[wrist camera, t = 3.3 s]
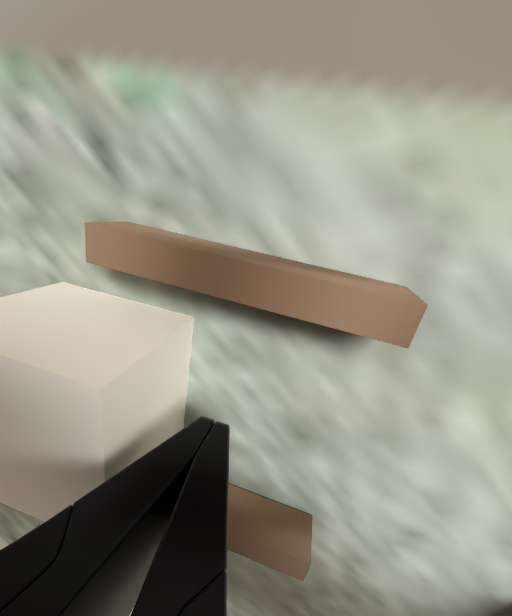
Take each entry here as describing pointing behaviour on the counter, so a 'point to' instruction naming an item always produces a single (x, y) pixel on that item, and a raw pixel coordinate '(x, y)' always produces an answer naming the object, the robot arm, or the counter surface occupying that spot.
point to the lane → (272, 297)
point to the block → (84, 391)
